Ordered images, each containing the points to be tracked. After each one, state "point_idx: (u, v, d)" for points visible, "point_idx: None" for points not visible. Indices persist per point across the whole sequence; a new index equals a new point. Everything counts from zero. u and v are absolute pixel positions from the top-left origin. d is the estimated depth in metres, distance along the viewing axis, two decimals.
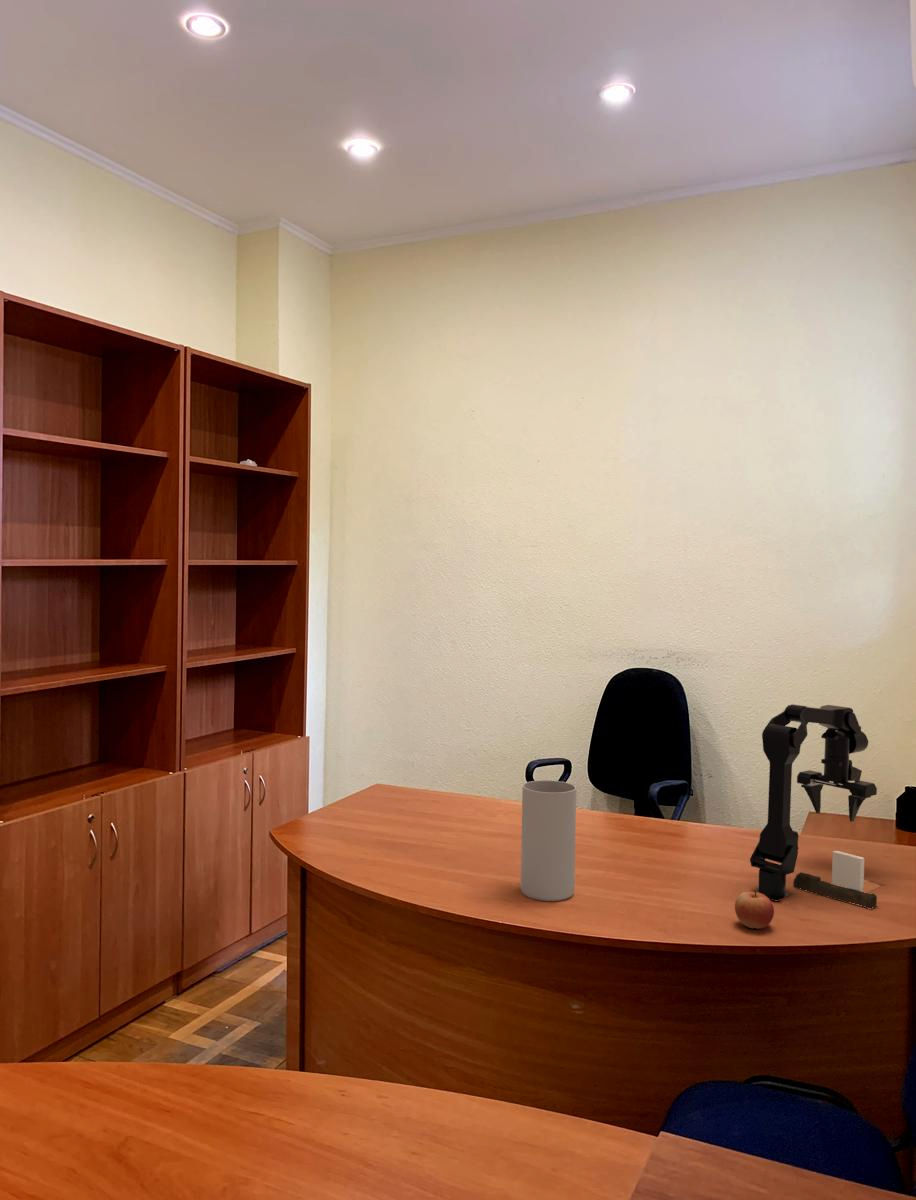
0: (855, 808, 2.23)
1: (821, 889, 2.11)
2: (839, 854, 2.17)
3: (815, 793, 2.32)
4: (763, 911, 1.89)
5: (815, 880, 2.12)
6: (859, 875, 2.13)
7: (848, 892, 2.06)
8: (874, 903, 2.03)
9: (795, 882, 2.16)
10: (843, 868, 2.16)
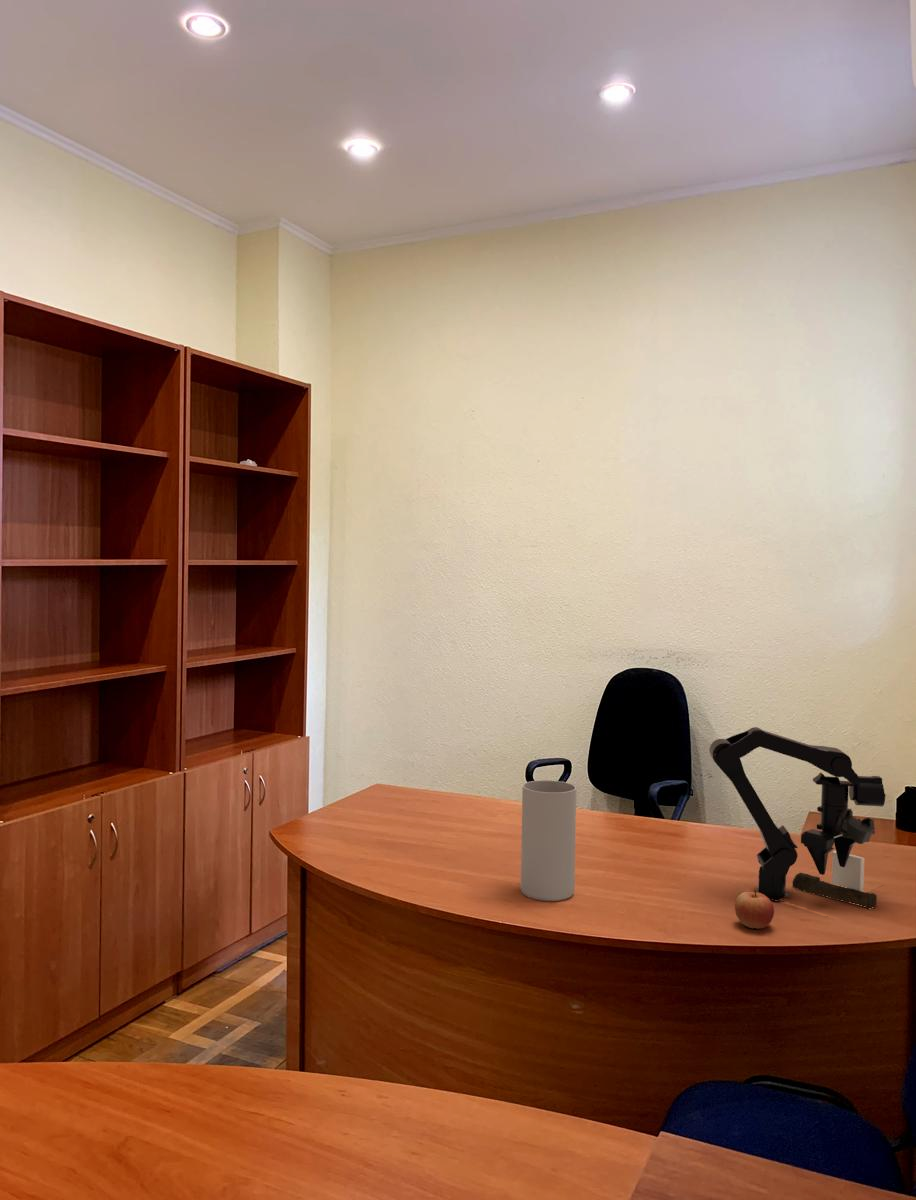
0: (817, 859, 2.07)
1: (821, 889, 2.11)
2: None
3: (839, 843, 2.13)
4: (763, 911, 1.89)
5: (815, 880, 2.12)
6: (859, 875, 2.13)
7: (848, 892, 2.06)
8: (875, 903, 2.04)
9: (794, 882, 2.16)
10: (843, 868, 2.16)
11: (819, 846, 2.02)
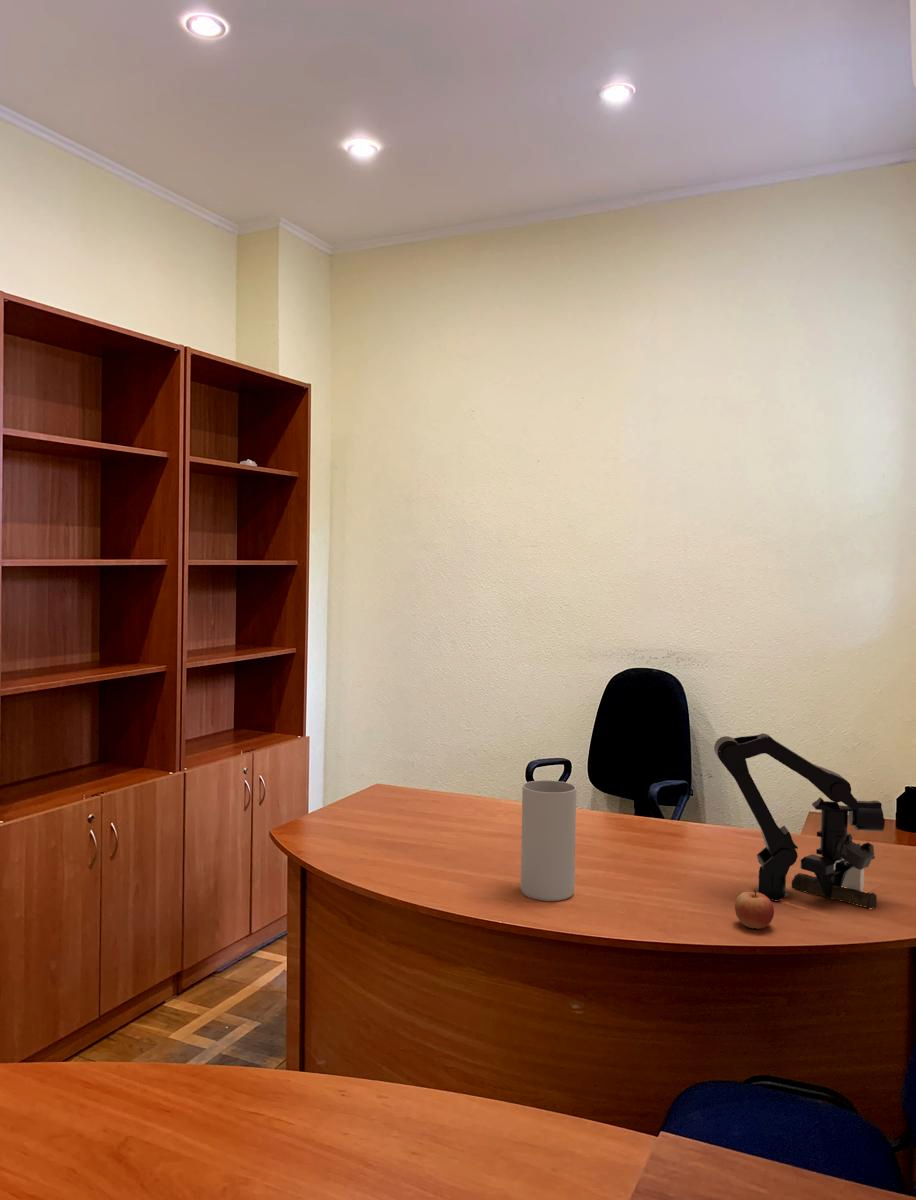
0: (823, 881, 2.08)
1: (821, 890, 2.10)
2: None
3: None
4: (763, 911, 1.89)
5: (814, 881, 2.11)
6: (859, 875, 2.13)
7: (848, 892, 2.06)
8: (875, 902, 2.04)
9: (793, 883, 2.15)
10: None
11: (819, 872, 2.02)
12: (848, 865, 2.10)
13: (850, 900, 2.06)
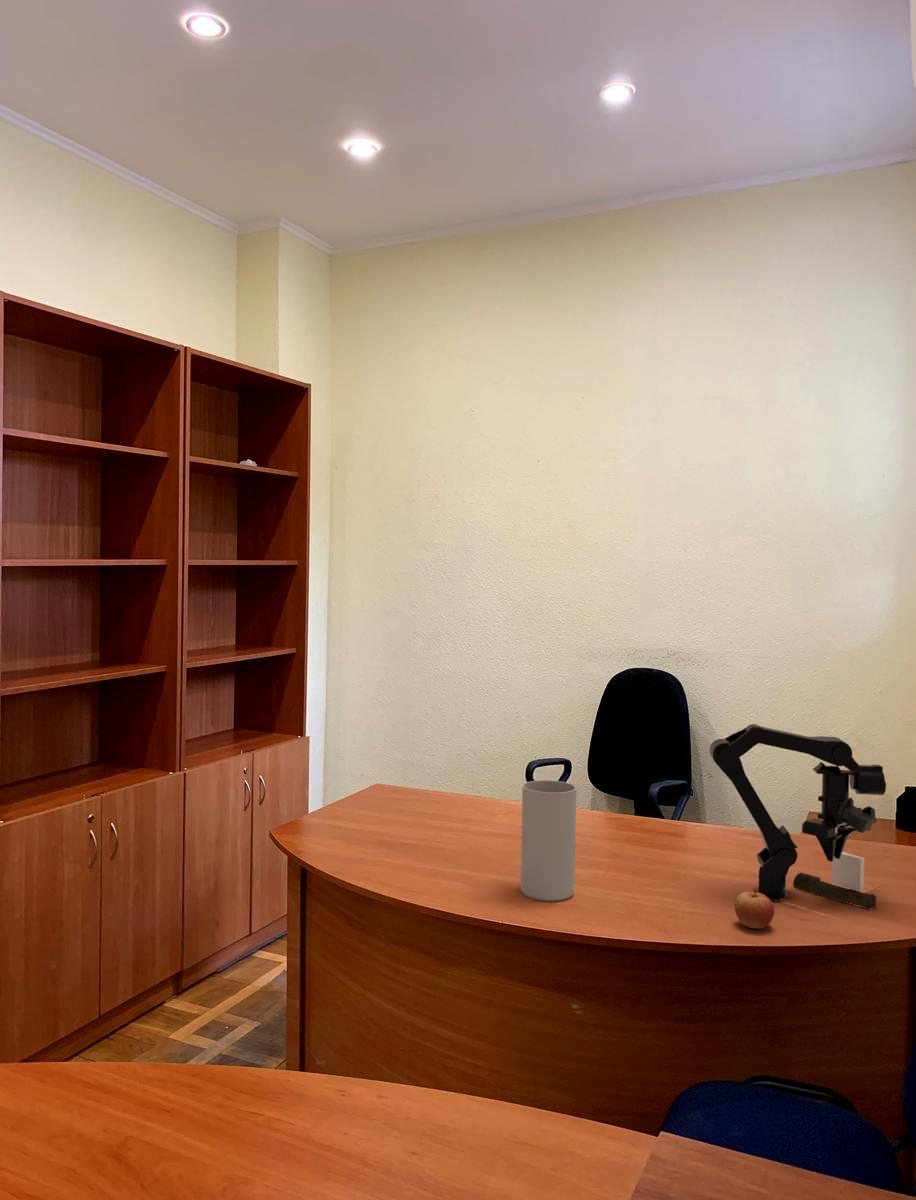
0: (825, 846, 2.08)
1: (821, 889, 2.10)
2: None
3: None
4: (763, 911, 1.89)
5: (815, 881, 2.12)
6: (859, 875, 2.13)
7: (847, 892, 2.06)
8: (874, 903, 2.03)
9: (795, 882, 2.16)
10: (843, 868, 2.16)
11: (820, 835, 2.02)
12: (849, 830, 2.10)
13: (849, 900, 2.06)
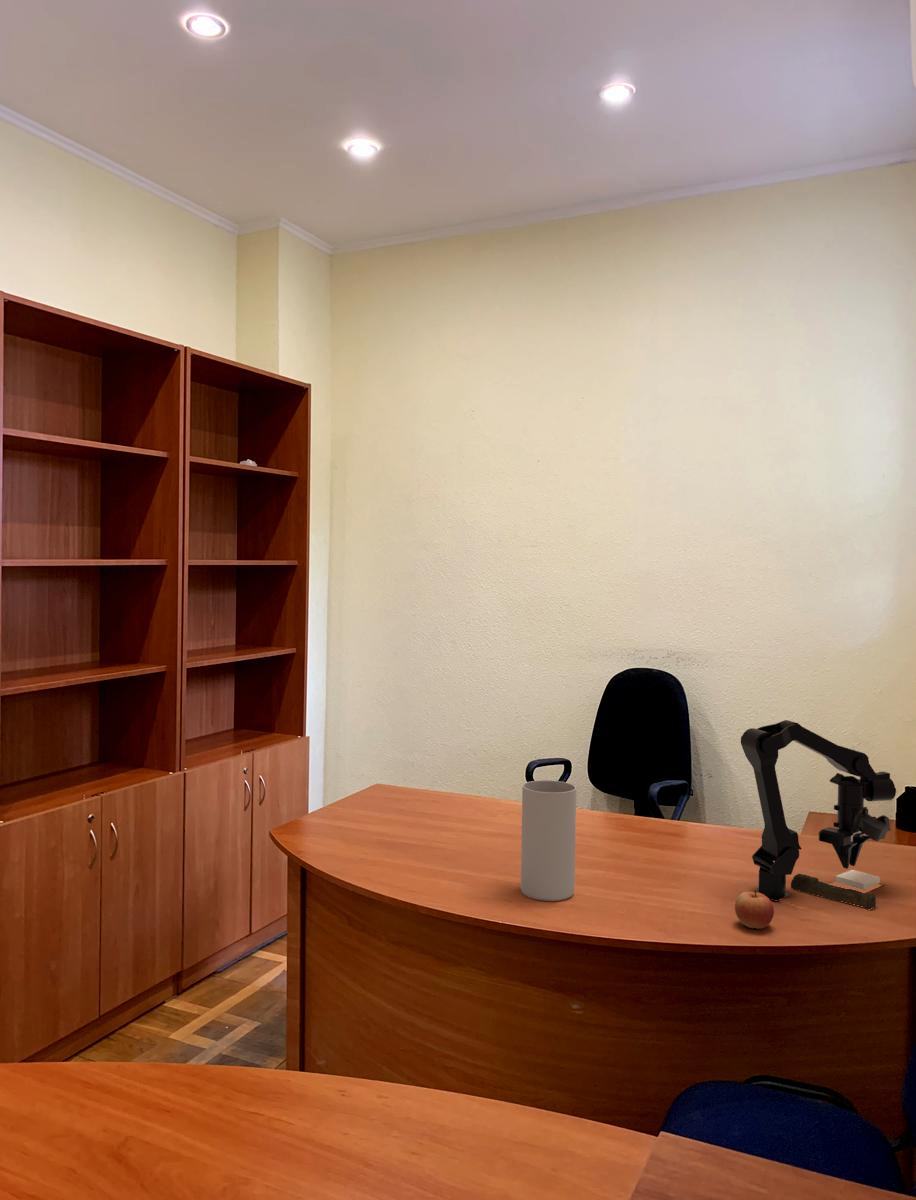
0: (840, 853, 2.15)
1: (820, 890, 2.10)
2: (858, 871, 2.23)
3: None
4: (763, 911, 1.89)
5: (814, 881, 2.11)
6: (871, 880, 2.17)
7: (847, 893, 2.06)
8: (874, 903, 2.03)
9: (793, 883, 2.15)
10: (856, 875, 2.20)
11: (836, 843, 2.09)
12: (864, 838, 2.16)
13: (849, 901, 2.05)
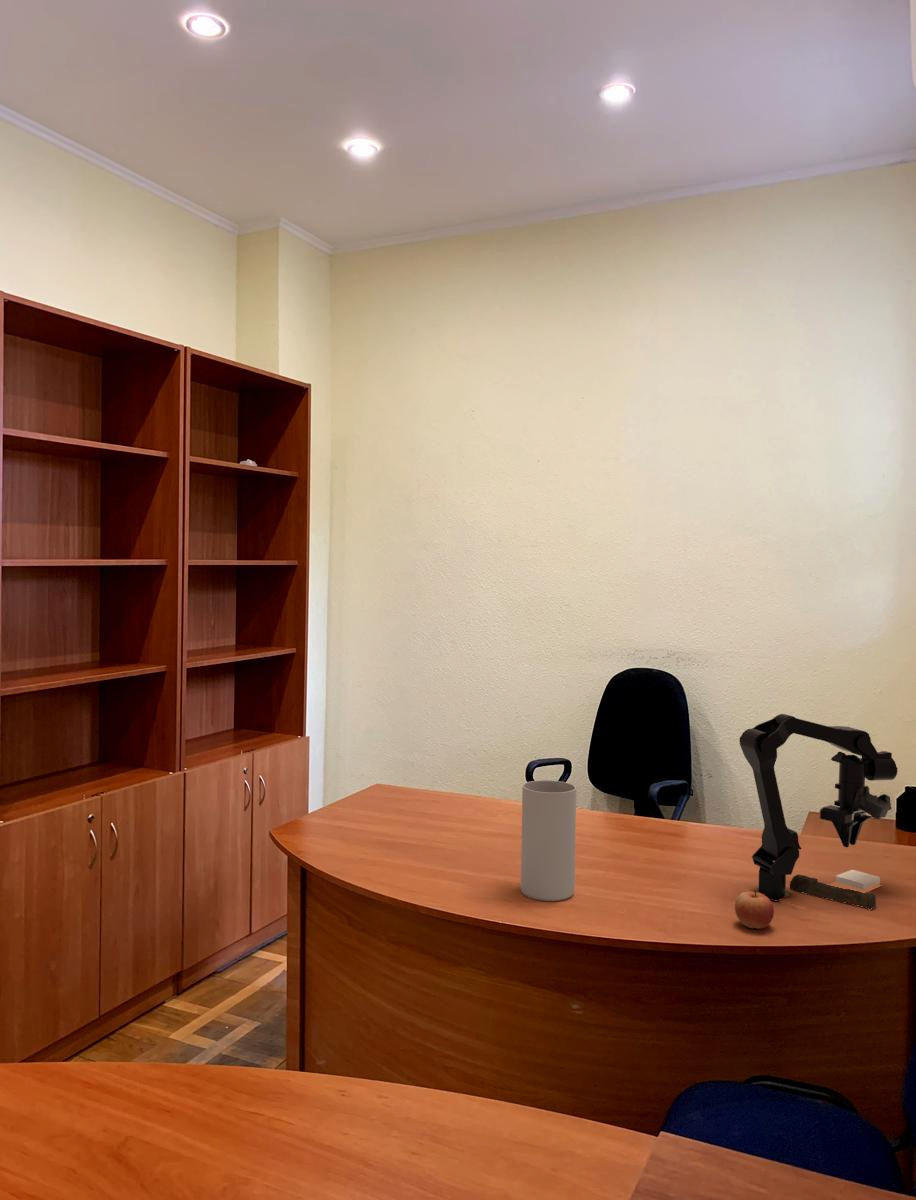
0: (841, 832, 2.15)
1: (820, 891, 2.10)
2: (858, 871, 2.23)
3: None
4: (763, 911, 1.89)
5: (813, 882, 2.11)
6: (871, 880, 2.17)
7: (847, 893, 2.06)
8: (874, 903, 2.03)
9: (792, 884, 2.15)
10: (856, 875, 2.20)
11: (838, 821, 2.09)
12: (864, 817, 2.16)
13: (849, 901, 2.05)
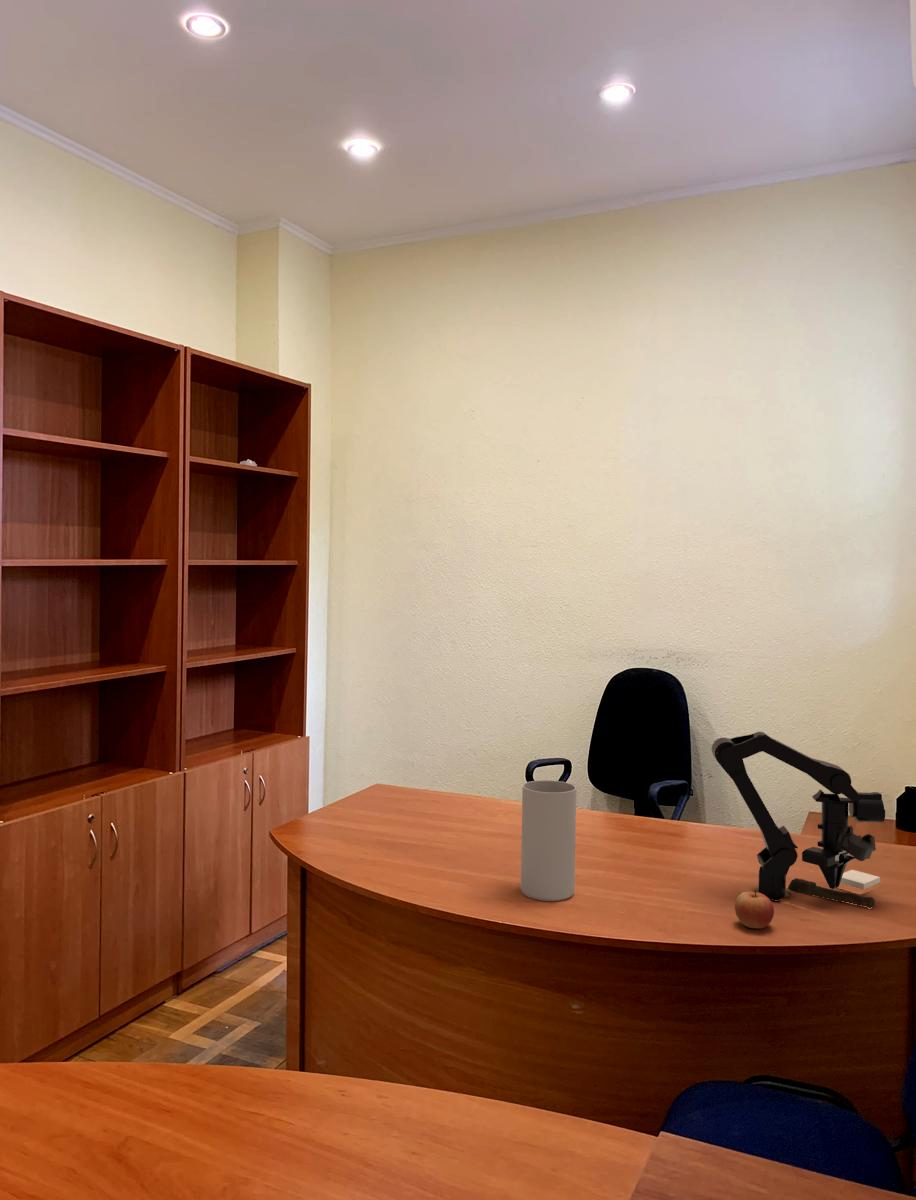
0: (826, 873, 2.09)
1: (819, 894, 2.10)
2: (858, 871, 2.23)
3: None
4: (763, 911, 1.89)
5: (812, 886, 2.11)
6: (871, 880, 2.17)
7: (846, 897, 2.06)
8: None
9: (790, 888, 2.14)
10: (856, 875, 2.20)
11: (820, 864, 2.02)
12: (847, 858, 2.09)
13: None
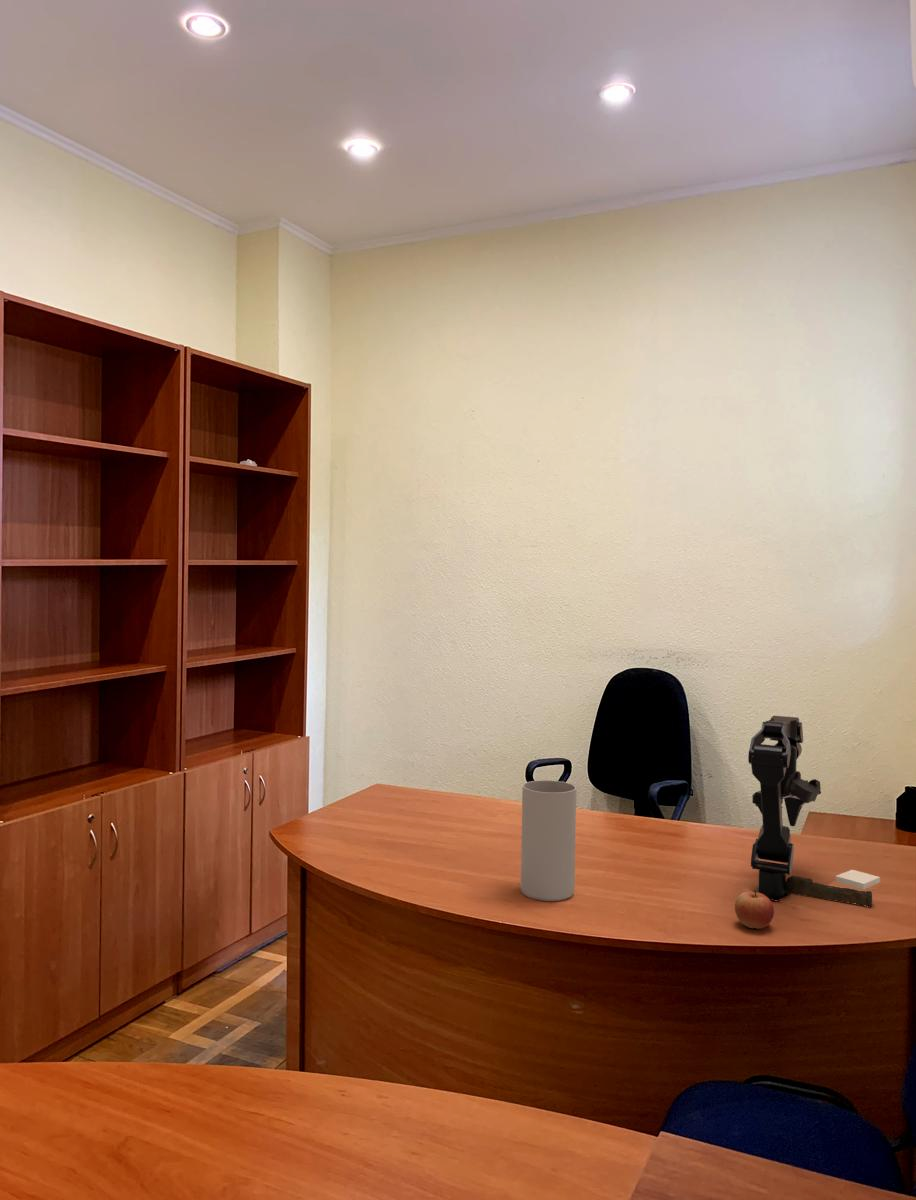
0: None
1: (816, 891, 2.09)
2: (858, 871, 2.23)
3: (790, 804, 2.29)
4: (763, 911, 1.89)
5: (809, 883, 2.10)
6: (871, 880, 2.17)
7: (845, 892, 2.06)
8: None
9: (786, 886, 2.13)
10: (856, 875, 2.20)
11: None
12: None
13: (848, 900, 2.06)
